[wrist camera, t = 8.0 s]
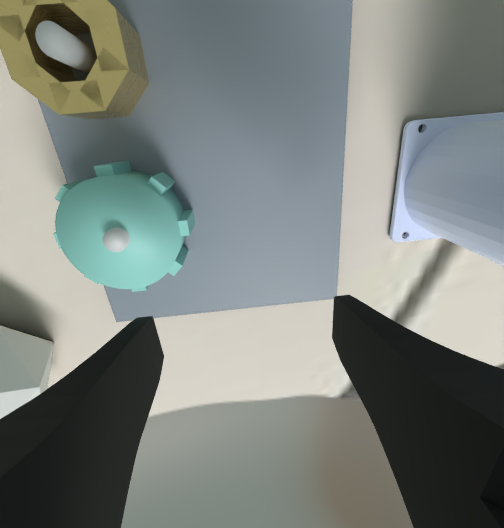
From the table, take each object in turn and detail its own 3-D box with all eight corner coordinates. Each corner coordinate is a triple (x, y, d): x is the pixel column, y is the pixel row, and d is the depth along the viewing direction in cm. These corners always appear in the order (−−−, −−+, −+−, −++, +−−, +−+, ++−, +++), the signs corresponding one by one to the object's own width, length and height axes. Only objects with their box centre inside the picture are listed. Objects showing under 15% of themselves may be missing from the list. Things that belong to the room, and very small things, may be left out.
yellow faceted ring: (132, -3, 13) (104, -42, 10) (155, 114, 15) (137, 107, 12) (27, 5, 13) (-30, -33, 10) (65, 121, 15) (26, 117, 12)
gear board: (347, -49, 14) (400, -136, 10) (332, 291, 22) (356, 329, 18) (3, -23, 13) (-107, -101, 9) (118, 314, 22) (90, 358, 17)
